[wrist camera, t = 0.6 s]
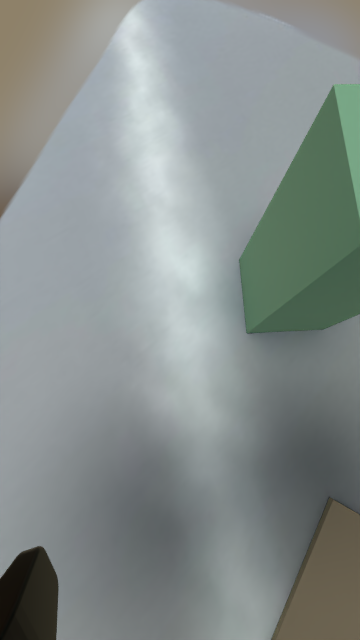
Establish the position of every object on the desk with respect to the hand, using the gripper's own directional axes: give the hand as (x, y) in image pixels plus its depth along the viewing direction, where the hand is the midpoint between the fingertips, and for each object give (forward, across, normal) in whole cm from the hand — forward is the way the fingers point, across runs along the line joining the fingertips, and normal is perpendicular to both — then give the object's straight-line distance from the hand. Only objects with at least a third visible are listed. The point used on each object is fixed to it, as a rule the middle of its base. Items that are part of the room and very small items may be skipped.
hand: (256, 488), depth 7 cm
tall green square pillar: (+15, -8, 0) cm, 17 cm away
